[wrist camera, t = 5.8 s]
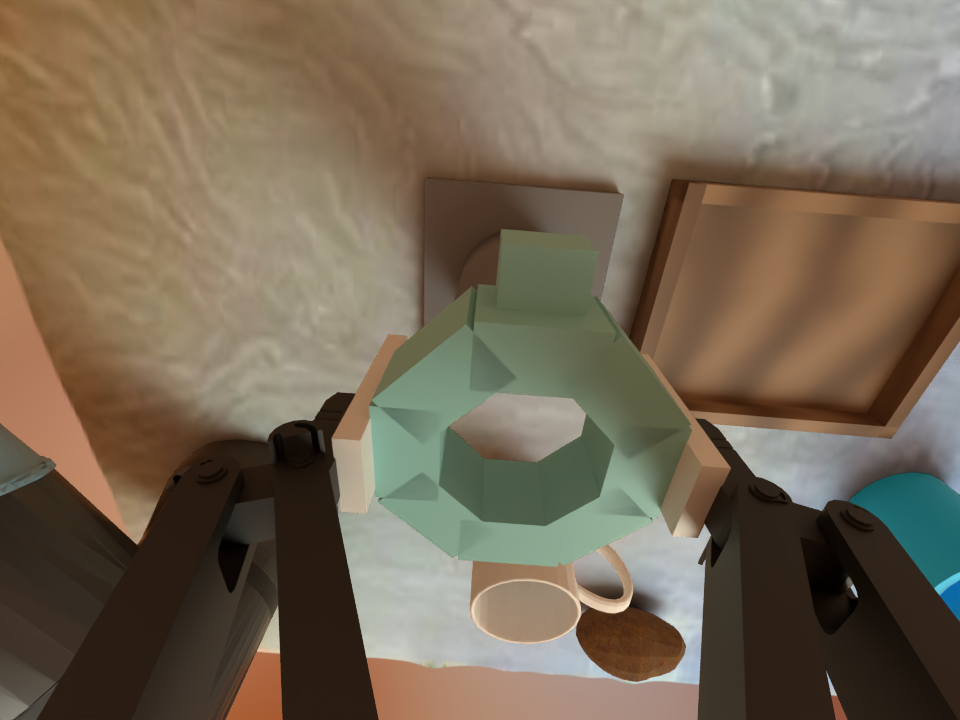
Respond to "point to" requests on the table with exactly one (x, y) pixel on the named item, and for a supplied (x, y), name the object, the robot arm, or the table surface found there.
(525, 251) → the ring
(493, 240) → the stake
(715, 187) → the tray
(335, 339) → the table surface
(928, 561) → the mug
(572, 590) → the mug
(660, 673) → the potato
